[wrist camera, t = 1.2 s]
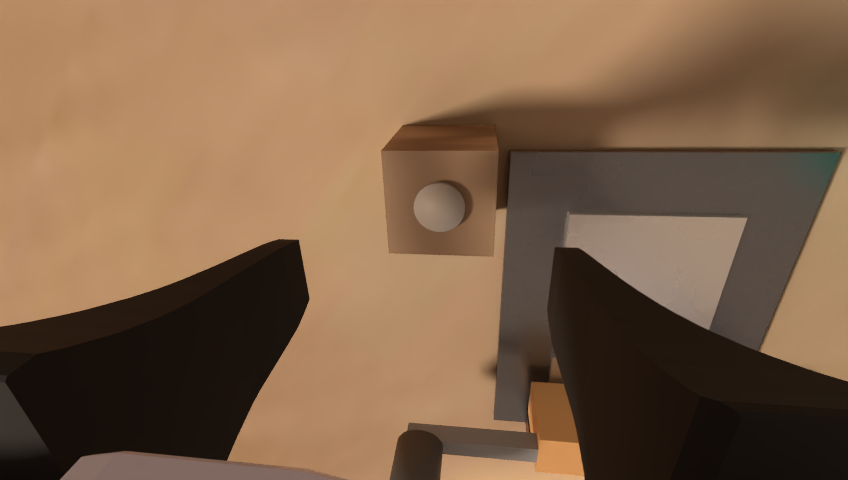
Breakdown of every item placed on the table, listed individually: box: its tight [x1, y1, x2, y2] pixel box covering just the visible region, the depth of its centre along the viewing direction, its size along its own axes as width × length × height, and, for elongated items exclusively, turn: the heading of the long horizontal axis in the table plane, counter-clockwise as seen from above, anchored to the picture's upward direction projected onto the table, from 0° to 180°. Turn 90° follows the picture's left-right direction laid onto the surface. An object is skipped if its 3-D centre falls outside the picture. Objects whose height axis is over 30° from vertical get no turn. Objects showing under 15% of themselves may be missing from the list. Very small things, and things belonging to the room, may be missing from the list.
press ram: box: [390, 382, 584, 480], centre depth 21 cm, size 18×2×8 cm, turn 92°
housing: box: [381, 125, 499, 257], centre depth 18 cm, size 4×4×5 cm
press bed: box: [494, 150, 841, 433], centre depth 22 cm, size 14×18×3 cm
